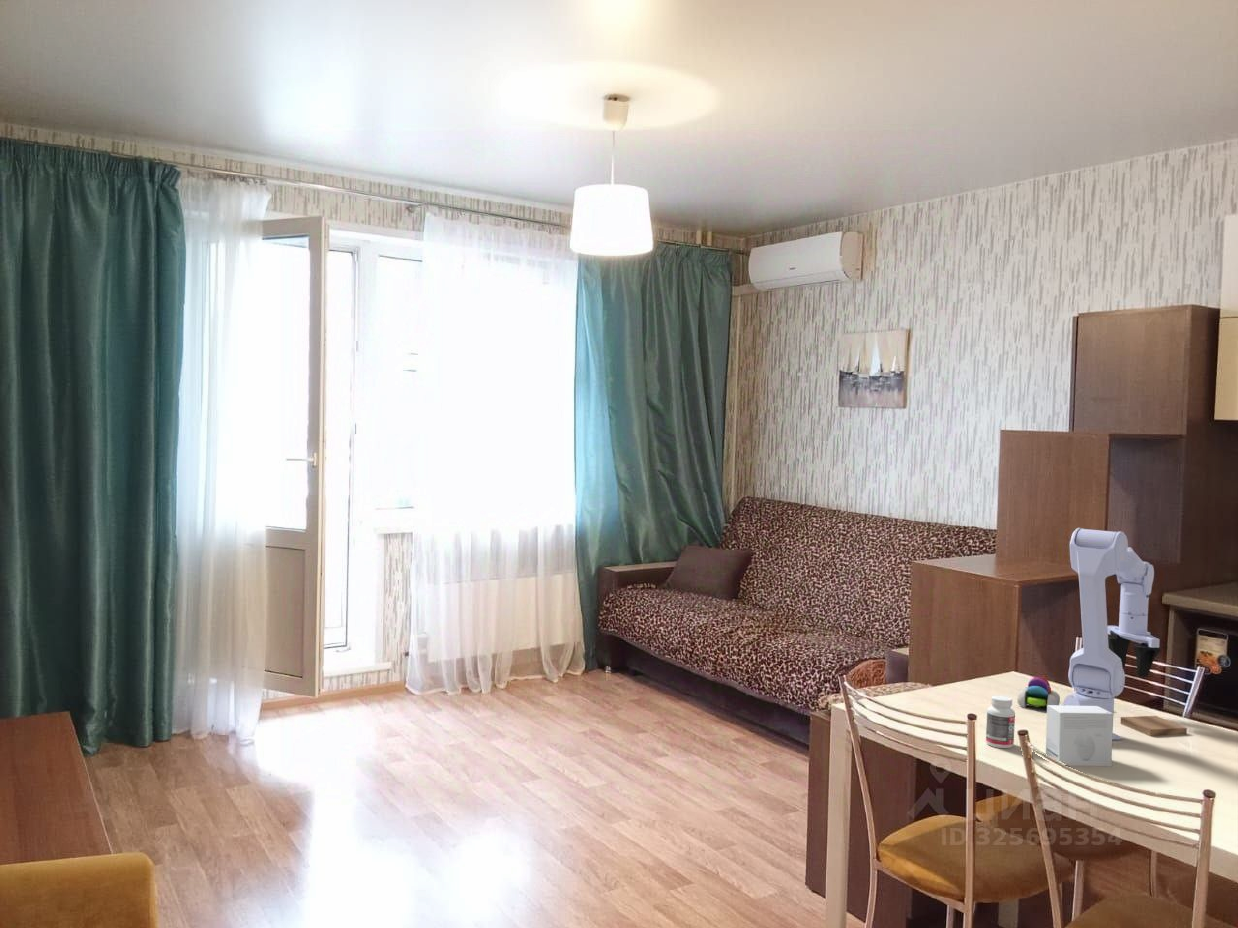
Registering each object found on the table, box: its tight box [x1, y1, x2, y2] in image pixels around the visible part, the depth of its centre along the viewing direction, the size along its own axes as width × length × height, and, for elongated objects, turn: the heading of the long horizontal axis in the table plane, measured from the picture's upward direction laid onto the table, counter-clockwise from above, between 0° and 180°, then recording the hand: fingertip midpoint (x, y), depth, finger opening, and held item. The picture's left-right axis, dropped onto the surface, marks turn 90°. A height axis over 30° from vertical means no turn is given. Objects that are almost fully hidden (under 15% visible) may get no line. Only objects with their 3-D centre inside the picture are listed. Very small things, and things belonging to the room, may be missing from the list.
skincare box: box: [1045, 704, 1114, 767], centre depth 194 cm, size 10×6×10 cm, turn 91°
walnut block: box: [1120, 715, 1188, 737], centre depth 215 cm, size 9×9×2 cm
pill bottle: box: [985, 695, 1016, 749], centre depth 203 cm, size 5×5×10 cm
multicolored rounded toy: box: [1016, 675, 1061, 708], centre depth 232 cm, size 8×10×7 cm
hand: (1130, 672), depth 225 cm, fingers open, 7 cm apart
